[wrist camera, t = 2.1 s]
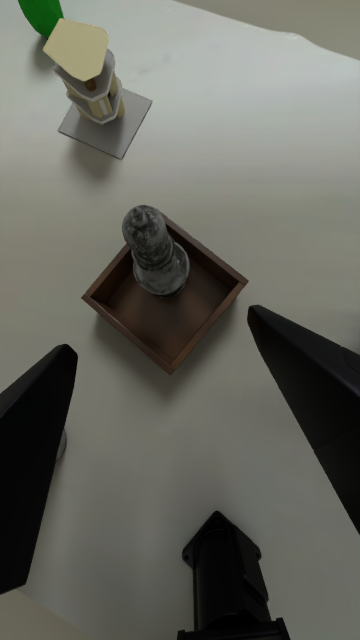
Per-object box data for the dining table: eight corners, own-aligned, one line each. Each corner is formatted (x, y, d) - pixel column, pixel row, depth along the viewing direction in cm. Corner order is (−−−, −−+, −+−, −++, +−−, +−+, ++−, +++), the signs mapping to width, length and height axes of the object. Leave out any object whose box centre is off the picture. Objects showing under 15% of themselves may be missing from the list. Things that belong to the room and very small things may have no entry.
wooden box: (173, 367, 21) (170, 375, 17) (99, 303, 21) (80, 297, 18) (238, 289, 21) (249, 280, 17) (161, 228, 22) (156, 207, 18)
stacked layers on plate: (57, 130, 23) (16, 68, 17) (88, 74, 23) (57, -5, 18) (121, 159, 22) (99, 104, 17) (152, 101, 22) (140, 27, 17)
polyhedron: (30, 37, 24) (-9, -35, 19) (53, 11, 24) (19, -68, 19) (55, 56, 24) (21, -13, 19) (78, 30, 24) (50, -46, 19)
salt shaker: (135, 291, 21) (65, 242, 9) (152, 247, 21) (104, 142, 9) (179, 307, 21) (167, 278, 9) (196, 262, 21) (206, 173, 9)
